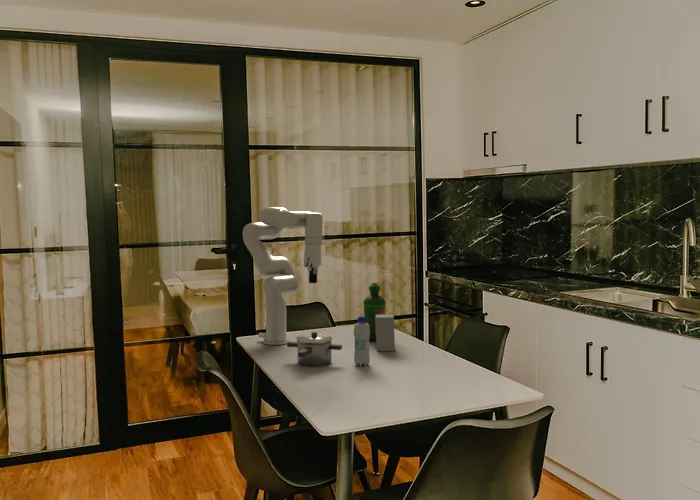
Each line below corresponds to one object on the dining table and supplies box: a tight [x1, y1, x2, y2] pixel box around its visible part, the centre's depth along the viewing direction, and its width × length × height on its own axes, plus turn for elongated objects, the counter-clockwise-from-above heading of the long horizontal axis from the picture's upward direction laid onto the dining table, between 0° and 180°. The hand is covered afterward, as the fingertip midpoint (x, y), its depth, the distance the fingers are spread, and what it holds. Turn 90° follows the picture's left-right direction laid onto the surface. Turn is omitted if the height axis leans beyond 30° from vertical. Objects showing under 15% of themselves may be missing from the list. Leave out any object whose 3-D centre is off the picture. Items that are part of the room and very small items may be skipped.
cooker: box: [286, 340, 343, 368], centre depth 248 cm, size 23×24×9 cm
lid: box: [296, 331, 333, 344], centre depth 252 cm, size 15×15×3 cm
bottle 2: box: [363, 281, 386, 343], centre depth 292 cm, size 11×11×28 cm
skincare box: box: [375, 314, 396, 352], centre depth 273 cm, size 8×7×16 cm
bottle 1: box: [353, 315, 371, 367], centre depth 248 cm, size 7×7×20 cm
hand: (312, 282), depth 267 cm, fingers closed
